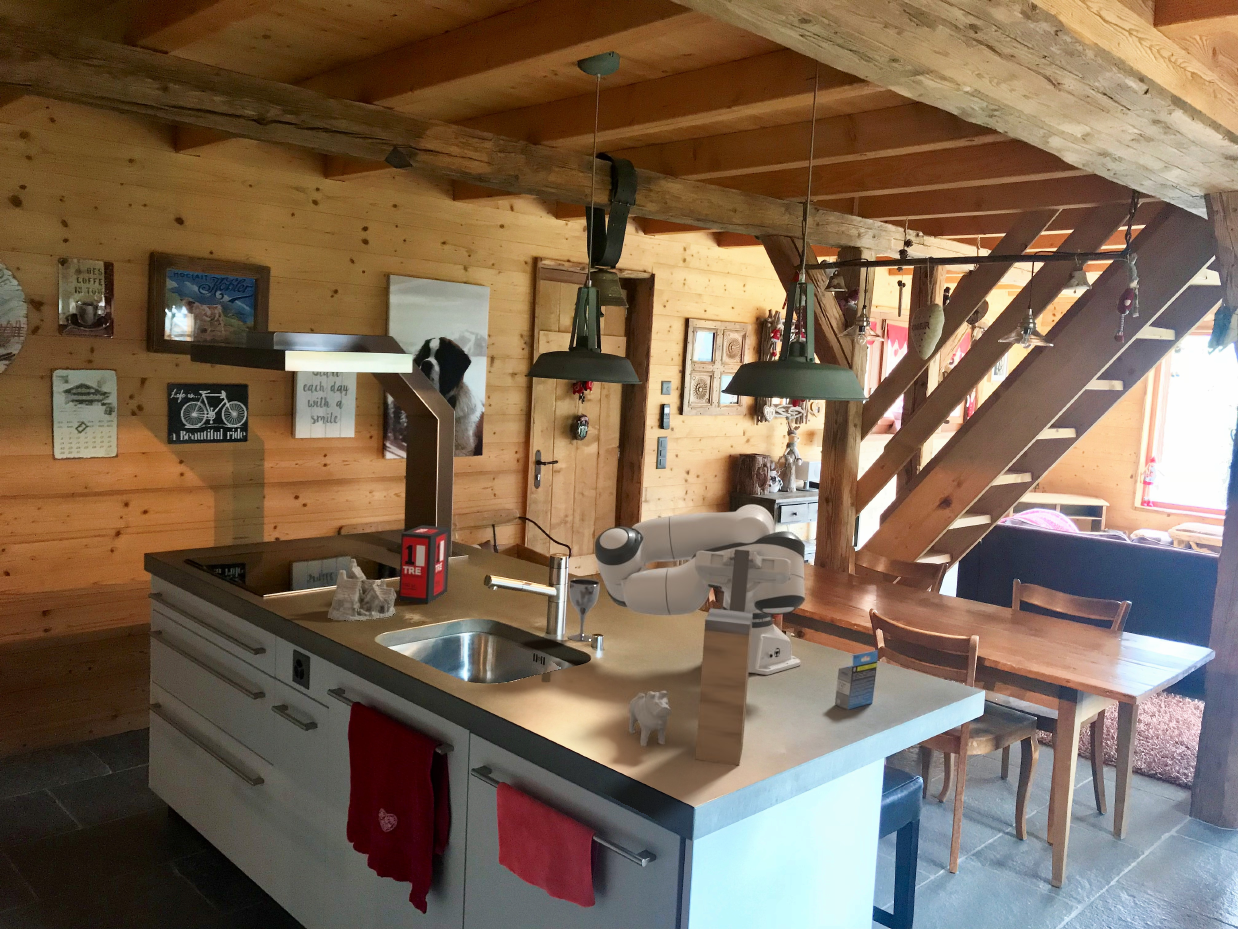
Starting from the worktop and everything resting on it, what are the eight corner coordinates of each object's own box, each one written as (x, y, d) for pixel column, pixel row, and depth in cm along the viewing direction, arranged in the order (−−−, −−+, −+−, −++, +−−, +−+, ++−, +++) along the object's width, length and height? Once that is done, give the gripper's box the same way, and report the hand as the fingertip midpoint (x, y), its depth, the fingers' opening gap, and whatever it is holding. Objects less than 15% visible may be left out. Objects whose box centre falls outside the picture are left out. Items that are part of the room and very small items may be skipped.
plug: (731, 551, 202) (729, 547, 197) (754, 553, 201) (754, 549, 197) (722, 643, 197) (721, 642, 193) (746, 646, 196) (745, 645, 192)
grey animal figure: (648, 754, 175) (652, 698, 174) (624, 728, 187) (627, 676, 186) (675, 751, 177) (679, 696, 176) (649, 726, 188) (653, 674, 187)
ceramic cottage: (318, 617, 253) (325, 562, 252) (351, 607, 269) (357, 554, 268) (370, 629, 249) (377, 572, 248) (401, 617, 265) (407, 564, 264)
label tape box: (859, 698, 214) (863, 645, 213) (874, 704, 211) (879, 649, 210) (834, 705, 208) (838, 650, 207) (849, 710, 205) (853, 655, 204)
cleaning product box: (419, 589, 293) (422, 525, 291) (447, 592, 292) (450, 527, 290) (398, 601, 277) (401, 533, 275) (428, 604, 275) (431, 535, 274)
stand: (700, 741, 182) (710, 608, 180) (742, 747, 181) (752, 612, 178) (695, 759, 173) (705, 619, 171) (739, 765, 172) (750, 624, 170)
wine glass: (596, 634, 254) (599, 579, 252) (596, 642, 246) (600, 585, 245) (566, 633, 253) (569, 577, 252) (565, 641, 246) (569, 584, 244)
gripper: (789, 594, 207) (791, 573, 194) (696, 585, 211) (691, 564, 198) (792, 567, 209) (793, 544, 197) (699, 558, 213) (695, 535, 201)
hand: (741, 554), depth 198 cm, fingers closed on plug, 3 cm apart
